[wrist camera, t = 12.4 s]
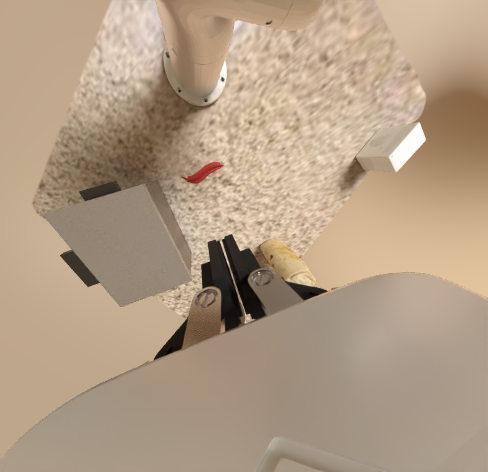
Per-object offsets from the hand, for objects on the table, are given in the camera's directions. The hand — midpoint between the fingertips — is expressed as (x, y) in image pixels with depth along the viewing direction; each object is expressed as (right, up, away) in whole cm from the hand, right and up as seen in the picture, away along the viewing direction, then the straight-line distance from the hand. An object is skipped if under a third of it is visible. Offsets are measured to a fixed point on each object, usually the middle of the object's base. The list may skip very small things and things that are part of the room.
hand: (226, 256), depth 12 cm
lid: (-23, -2, +24) cm, 34 cm away
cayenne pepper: (-9, +18, +34) cm, 40 cm away
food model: (+11, -2, +48) cm, 49 cm away
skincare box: (+41, +28, +43) cm, 66 cm away
